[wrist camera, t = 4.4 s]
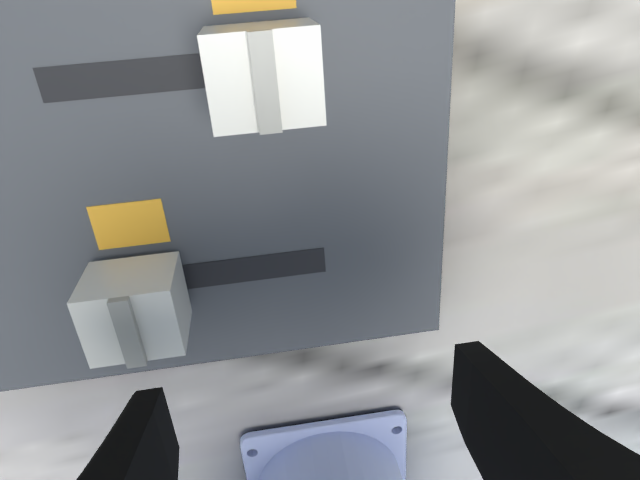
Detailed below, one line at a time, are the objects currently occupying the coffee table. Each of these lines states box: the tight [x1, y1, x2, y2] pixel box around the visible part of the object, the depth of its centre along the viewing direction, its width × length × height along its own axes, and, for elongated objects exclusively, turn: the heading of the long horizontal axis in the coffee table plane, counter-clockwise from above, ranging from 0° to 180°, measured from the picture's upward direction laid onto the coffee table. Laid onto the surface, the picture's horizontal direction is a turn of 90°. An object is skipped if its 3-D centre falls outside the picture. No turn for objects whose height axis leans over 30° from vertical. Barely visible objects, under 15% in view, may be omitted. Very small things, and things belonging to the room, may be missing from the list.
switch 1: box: [67, 251, 192, 369], centre depth 17 cm, size 2×3×3 cm
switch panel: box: [0, 0, 455, 392], centre depth 16 cm, size 22×18×2 cm
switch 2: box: [197, 17, 327, 137], centre depth 14 cm, size 2×3×3 cm
